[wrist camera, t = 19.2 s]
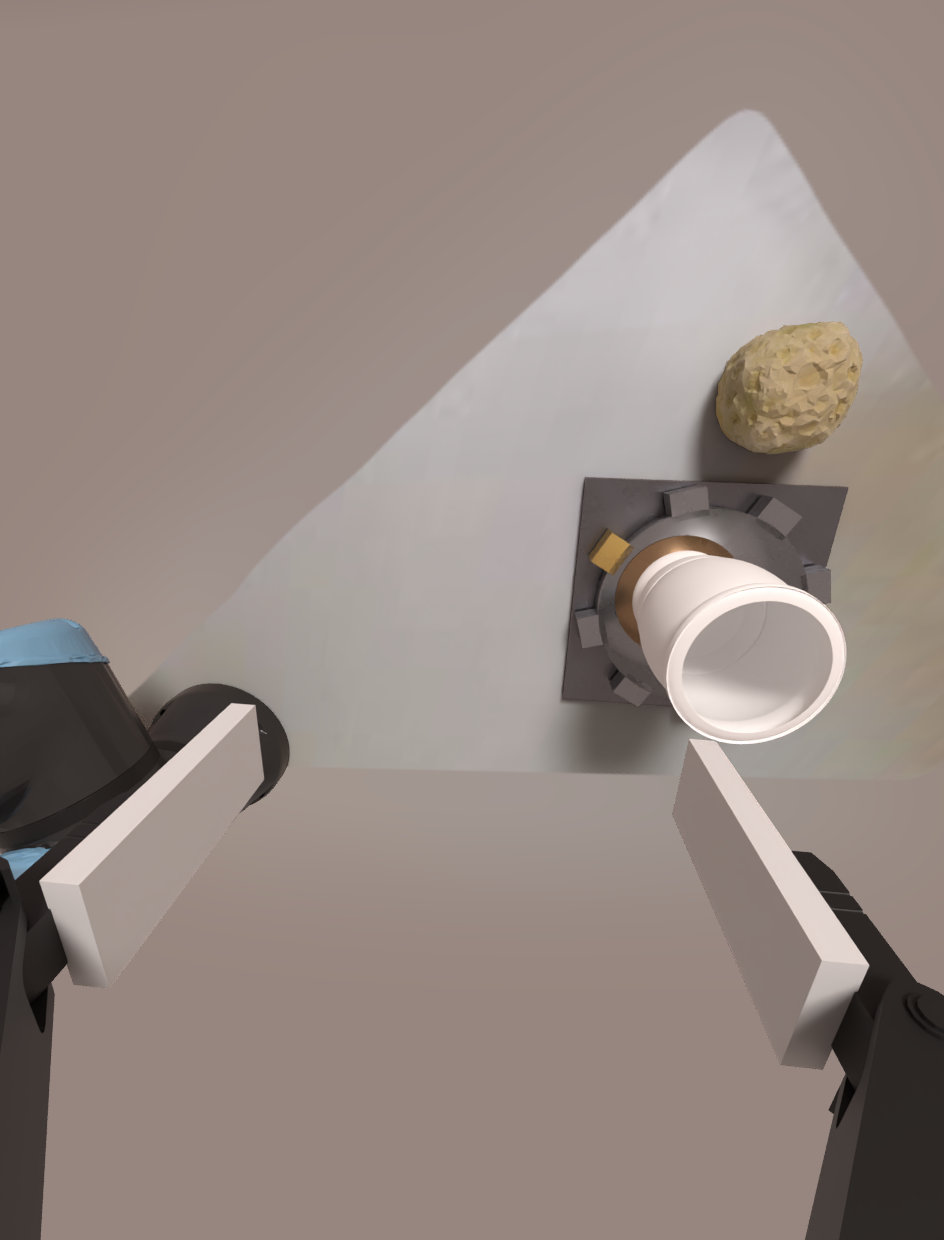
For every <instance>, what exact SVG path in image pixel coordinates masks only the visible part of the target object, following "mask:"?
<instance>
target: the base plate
mask: <svg viewBox="0 0 944 1240" xmlns="http://www.w3.org/2000/svg"><path fill="white" fill-rule="evenodd" d="M698 484H700V485H704V486H707V489H708V501H709V506H712V507H722V508H728V509H732V510H736V511H740V512H743V513H746V514H748V512H749V511H750V510H751V509H752V507H753V506H754V505H755V504H756V503H757V501H758V500H759V499H760V498H761V496H762V495H765V496H770V497H774V498H775V499H777V500H778V501H780V502H781V503H783V504H784V505H786V506H787V507H789V508H790V509H791V510H793V511H794V512H796V513H797V514H799V515H800V516H802V518H801V519H800V520H799V521H798V523H797V524H796V525H795V526H794V527H793V528H792V530H791V531H790V532H789V533H788V534H787V535H786V538H787V539H788V540H789V541H790V542H791V544H792V545H793V547H794V548H795V550H796V551H797V553H798V554H799V556H800V559H801V561H802V563H803V565H804V567H807V566H812V565H820V566H822V567H825V568H826V566H827V562H828V559H829V555H830V551H831V548H832V544H833V541H834V537H835V534H836V530H837V527H838V523H839V519H840V516H841V512H842V509H843V505H844V502H845V498H846V494H847V491H848V487H840V486H813V485H786V484H759V483H731V482H704V481H677V480H649V479H622V478H595V477H585V485H584V494H583V504H582V514H581V523H580V533H579V542H578V552H577V562H576V571H575V581H574V591H573V600H572V610H571V619H570V629H569V639H568V648H567V658H566V667H565V677H564V687H563V699H577V700H591V701H606V702H620V703H631V702H629V701H627V700H626V699H624V698H623V697H621V696H619V695H618V694H616V693H614V692H613V690H612V688H611V685H610V681H611V680H612V679H613V677H614V676H615V675H616V674H617V672H618V671H619V670H618V669H617V667H616V666H615V665H614V664H613V662H612V661H611V659H610V657H609V656H608V654H607V652H606V650H605V648H604V645H598V646H593V647H587V648H582V645H581V642H580V638H579V632H578V627H577V621H576V616H575V612H578V611H583V610H588V609H593V608H595V600H596V594H597V589H598V585H599V582H600V579H601V576H602V574H603V572H604V569H602V568H600V567H599V566H597V565H596V564H594V563H593V562H591V560H590V559H589V557H588V556H589V555H590V553H591V552H592V551H593V549H594V548H595V546H596V545H597V544H598V542H599V541H600V539H601V538H602V537H603V535H604V534H605V533H606V531H607V530H608V529H609V530H610V531H612V532H613V533H615V534H616V535H618V536H619V537H621V538H623V539H624V540H627V539H628V538H629V537H630V536H631V535H632V534H633V533H634V532H636V531H637V530H639V529H640V528H641V527H643V526H644V525H646V524H647V523H649V522H651V521H653V520H654V519H656V518H659V517H661V516H663V515H666V513H665V504H664V495H663V492H668V491H672V490H676V489H681V488H685V487H690V486H694V485H698ZM641 704H650V705H664V706H673V705H672V703H671V701H670V699H669V698H668V697H664V696H660V695H657V694H654V693H650V694H649V695H648V696H647V698H646V699H645V700H644V701H643V702H642V703H641Z"/></svg>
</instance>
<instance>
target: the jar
mask: <svg viewBox="0 0 944 1240" xmlns="http://www.w3.org/2000/svg"><path fill="white" fill-rule="evenodd" d="M632 607H633V613H634V616H635V619H636V621H637V624H638V630H639V634H640V641H641V646H642V649H643V653H644V655H645V658H646V660H647V662H648V665H649V666H650V668H651V670H652V672H653V673H654V675H655V676H656V678H657V679H658V681H659V682H660V683H661V684H662V686H663V687H664V688H665V689H666V691H667V694H668V697H669V699H670V701H671V703H672V705H673V707H674V709H675V710H676V712H677V713H678V715H679V716H680V717H681V719H682V720H683V721H684V722H685V723H686V724H687V725H688V726H690V727H691V728H692V729H694V730H695V731H697V732H698V733H700V734H702V735H704V736H706V737H708V738H711V739H714V740H717V741H721V742H726V743H733V744H752V743H759V742H765V741H769V740H772V739H776V738H779V737H781V736H784V735H786V734H788V733H790V732H792V731H794V730H796V729H798V728H800V727H801V726H803V725H804V724H806V723H807V722H808V721H810V720H811V719H812V718H813V717H815V716H816V715H817V714H818V713H819V712H820V711H821V710H822V709H823V708H824V707H825V706H826V704H827V703H828V702H829V701H830V699H831V698H832V696H833V695H834V693H835V692H836V690H837V688H838V686H839V684H840V681H841V679H842V676H843V673H844V669H845V664H846V641H845V637H844V633H843V630H842V628H841V626H840V624H839V622H838V620H837V618H836V617H835V616H834V614H833V613H832V612H831V611H830V610H829V609H828V608H827V607H826V606H825V605H824V604H823V603H822V602H821V601H819V600H818V599H817V598H815V597H814V596H812V595H811V594H809V593H807V592H805V591H803V590H801V589H798V588H795V587H792V586H789V585H787V584H786V583H785V582H783V581H782V580H781V579H779V578H778V577H776V576H775V575H773V574H772V573H770V572H768V571H766V570H765V569H763V568H760V567H758V566H756V565H753V564H751V563H748V562H745V561H741V560H737V559H731V558H723V557H718V556H711V555H707V554H704V553H701V552H697V551H678V552H673V553H670V554H667V555H665V556H663V557H661V558H659V559H658V560H656V561H655V562H653V563H652V564H651V565H650V566H649V567H648V568H647V569H646V570H645V571H644V572H643V573H642V575H641V576H640V578H639V580H638V581H637V583H636V586H635V589H634V592H633V599H632Z"/></svg>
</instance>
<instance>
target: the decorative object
mask: <svg viewBox="0 0 944 1240" xmlns="http://www.w3.org/2000/svg"><path fill="white" fill-rule="evenodd" d="M862 362H863V358H862V354H861V351H860V350H859V346H858V343H857V341H856V340H854V339H853V338H852V337H851V336H850V333H849V330H848V328H847V327H846V326H845V325H844V324H843V323H841V322H818V323H809V324H802V325H791V326H783V327H782V328H780V329H779V330H771V331H768V332H767V333H765V334H764V335H761V336H757V337H755V338H754V339H753V340H751V341H750V342H749V343H748V344H746V345H744V346H743V347H741V348H740V349H739V350H738V351H737V352H736V353H735V354H734V355H733V356H732V357H731V359H730V360H729V361H727V363H726V366H725V368H726V369H725V370H724V372H723V375H722V378H721V380H720V382H719V383H718V395H717V397H716V416H717V419H718V421H719V424H720V428H721V430H722V432H723V433H725V435H726V436H727V437H728V439H730V440H731V441H733V442H734V443H736V444H738V445H739V446H741V447H744V448H746V449H747V450H749V451H752V452H756V453H767V454H778V453H784V452H794V451H796V450H801V449H805V448H810V447H812V446H814V445H817V444H820V443H822V442H823V441H824V440H825V439H826V438H828V437H829V436H830V435H831V434H832V433H833V432H834V431H835V429H836V428H838V427H839V426H840V424H841V422H842V420H843V419H844V418H845V417H846V414H847V412H848V409H849V408H850V406H851V404H852V403H853V401H854V399H855V396H856V393H857V390H858V381H859V377H860V374H861V367H862Z"/></svg>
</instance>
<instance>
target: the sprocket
mask: <svg viewBox="0 0 944 1240" xmlns="http://www.w3.org/2000/svg"><path fill="white" fill-rule="evenodd" d="M663 495H664V504H665V513H666V515H663V516H661V517H659V518H656V519H654V520H653V521H651V522H649V523H647V524H646V525H644V526H643V527H641V528H640V529H639V530H637V531H636V532H634V533H633V534H632V535H631V536H630V537H629V538H628V539H627V540H624V539H623V538H621V537H619V536H618V535H616V534H615V533H613V532H612V531H610V530H609V529H608V530H607V531H606V533H605V534H604V535H603V537H602V538H601V539H600V541H599V542H598V544H597V545H596V546H595V548H594V549H593V551H592V552H591V553H590V555H589V556H588V557H589V559H590V560H591V562H593V563H594V564H596V565H597V566H599V567H600V568H602V569H604V572H603V574H602V576H601V579H600V582H599V585H598V589H597V594H596V600H595V608H593V609H588V610H583V611H578V612H575V616H576V621H577V627H578V632H579V638H580V642H581V645H582V648H587V647H593V646H598V645H604V648H605V650H606V652H607V654H608V656H609V657H610V659H611V661H612V662H613V664H614V665H615V666H616V667H617V669H618V670H619V671H618V672H617V674H616V675H615V676H614V677H613V679H612V680H611V681H610V685H611V688H612V690H613V692H614V693H616V694H618V695H619V696H621V697H623V698H624V699H626V700H627V701H629V702H631V703H632V704H634V705H636V706H637V707H639V706H640V705H641V703H642V702H643V701H644V700H645V699H646V698H647V696H648V695H649V694H650V693H654V694H657V695H660V696H664V697H668V694H667V691H666V689H665V688H664V687H663V686H662V684H661V683H660V682H659V681H658V679H657V678H656V676H655V675H654V673H653V672H652V670H651V668H650V666H649V665H648V662H647V660H646V658H645V655H644V653H643V649H642V646H641V641H640V634H639V630H638V624H637V621H636V619H635V616H634V613H633V607H632V599H633V592H634V589H635V586H636V583H637V581H638V580H639V578H640V576H641V575H642V573H643V572H644V571H645V570H646V569H647V568H648V567H649V566H650V565H651V564H652V563H653V562H655V561H656V560H658V559H659V558H661V557H663V556H665V555H667V554H670V553H673V552H678V551H697V552H701V553H704V554H707V555H711V556H718V557H723V558H731V559H737V560H741V561H745V562H748V563H751V564H753V565H756V566H758V567H760V568H763V569H765V570H766V571H768V572H770V573H772V574H773V575H775V576H776V577H778V578H779V579H781V580H782V581H783V582H785V583H786V584H787V585H789V586H792V587H795V588H798V589H801V590H803V591H805V592H807V593H809V594H811V595H812V596H814V597H815V598H817V599H818V600H819V601H821V602H822V603H823V604H827V603H831V570H829V569H827V568H825V567H822V566H820V565H812V566H807V567H804V565H803V563H802V561H801V559H800V556H799V554H798V553H797V551H796V550H795V548H794V547H793V545H792V544H791V542H790V541H789V540H788V539H787V538H786V535H787V534H788V533H789V532H790V531H791V530H792V528H793V527H794V526H795V525H796V524H797V523H798V521H799V520H800V519H801V518H802V516H800V515H799V514H797V513H796V512H794V511H793V510H791V509H790V508H789V507H787V506H786V505H784V504H783V503H781V502H780V501H778V500H777V499H775V498H774V497H770V496H765V495H762V496H761V498H760V499H759V500H758V501H757V503H756V504H755V505H754V506H753V507H752V509H751V510H750V511H749V512H748V514H746V513H743V512H740V511H736V510H732V509H728V508H722V507H712V506H709V501H708V489H707V486H704V485H700V484H698V485H694V486H690V487H685V488H681V489H676V490H672V491H668V492H663ZM668 698H669V697H668Z"/></svg>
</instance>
